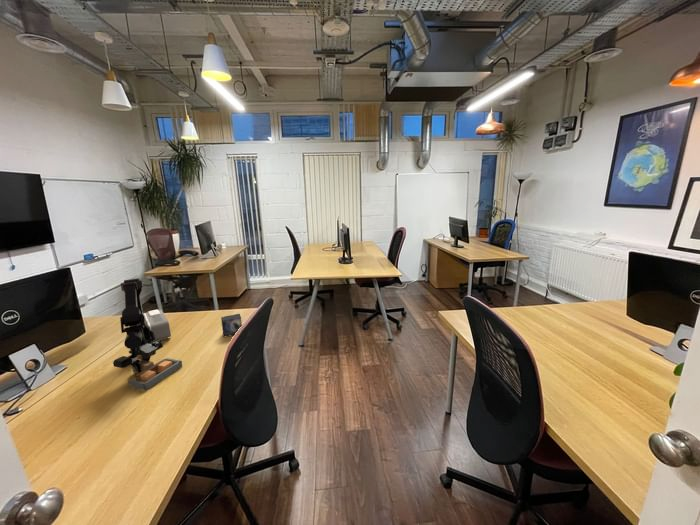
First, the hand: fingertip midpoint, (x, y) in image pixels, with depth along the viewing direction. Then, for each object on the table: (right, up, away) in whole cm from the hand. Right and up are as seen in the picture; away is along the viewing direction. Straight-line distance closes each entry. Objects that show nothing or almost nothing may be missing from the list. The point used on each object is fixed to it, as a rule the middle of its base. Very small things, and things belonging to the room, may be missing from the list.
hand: (142, 370), depth 130 cm
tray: (+8, -2, -2) cm, 9 cm away
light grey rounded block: (-20, +6, +39) cm, 44 cm away
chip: (+7, -3, -6) cm, 10 cm away
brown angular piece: (+1, -1, 0) cm, 1 cm away
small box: (+26, +7, +37) cm, 46 cm away
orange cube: (+10, -1, +2) cm, 10 cm away
